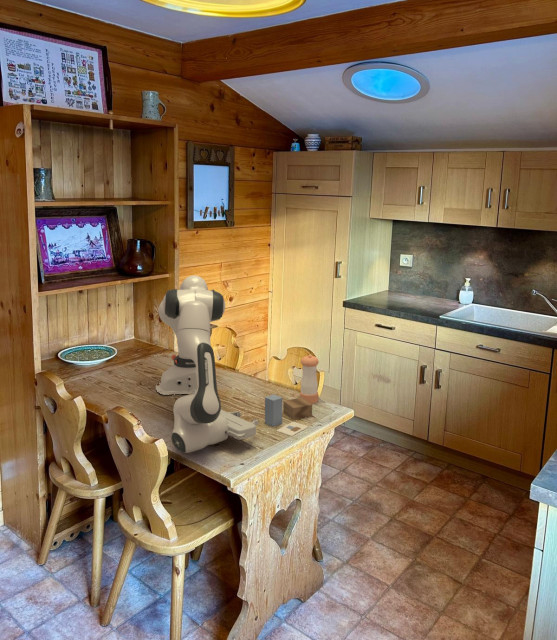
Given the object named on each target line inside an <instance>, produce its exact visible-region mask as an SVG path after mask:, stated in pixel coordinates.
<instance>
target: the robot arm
mask: <svg viewBox="0 0 557 640" xmlns="http://www.w3.org/2000/svg"><path fill="white" fill-rule="evenodd" d="M157 310H158V316H159V318H160V320H161V321H162V322H163V323H164V324H166V325H167V326H169V327H170V329H172V331H173V333H174V336H176V344H177V349H178V352H177V353H178V355H176V354H172V355H171V360H172V361H173V364H172V365H171V366H170V367H169V368H168V369H166V370H165V371H163V373H162V374H161V377H160V382H161V383H160V382H158V383H159V384H160V385H159V386H157V384H156V385H155V391H156V390H157V392H159V393H160V394H163V395H169V394H174V395H173V396H176V395H175V394H191V395H181V396H180V397H178V398H177V399H176V400H175V401H174V403H173V406H172V413H173V414H172V415H173V417H174V423H173V424H174V425H173V430H172V432H171V434H170V435H171V436H170V437H171V442H172V445H173V446H174V447H175V449H176V450H177V451H179V452H180V453H184V454H185V453H187V454H189V453H193V452H197V451H199V450H202V449H204V448H205V449H206V447H208V446H209V445H210V446H213V445H215V444H218V443H220V442H224V441H226V440H227V439H228V438H229V436H230V437H231V438H233V439H235V440H239V441H240V440H245V439H248V438H252V437H255V436H256V434H257V426H258V425H259V424H260V423H259V420H258V419H256V418H254V419H252V420H251V421H248V420H245V419H243V418H242V417H241V416H242V413H241V411H238V410H236V411H228V412H227V411H226V410H223V409H222V403H221V399H220V396H219V391H218V384H217V373H216V372H217V371H216V359H215V354H214V353H215V351H214V349H213V347H212V344H211V323H212V322H216V321H219V320H220V319H221V318H223V315H224V313H225V310H226V301H225V298H224V295H223V294H221V292H219V291H215V289H211V290H209V289H208V283H207V282H206V280H205V279H204V278H203V277H201V276H200V275H194V274H192V275H189V276H187V277H185V279H183V281H182V282H181V284H180V286H179V289H177V288H173V289H168V290H167V291H166V292H165V295H164V296H163V299H162V301H161V302H160V303H159V306H158V309H157ZM157 392H156V393H157Z"/></svg>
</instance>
